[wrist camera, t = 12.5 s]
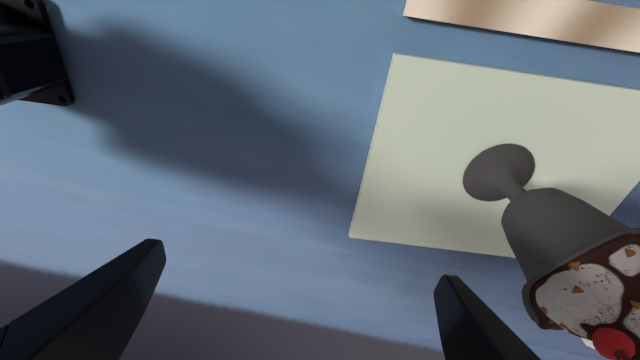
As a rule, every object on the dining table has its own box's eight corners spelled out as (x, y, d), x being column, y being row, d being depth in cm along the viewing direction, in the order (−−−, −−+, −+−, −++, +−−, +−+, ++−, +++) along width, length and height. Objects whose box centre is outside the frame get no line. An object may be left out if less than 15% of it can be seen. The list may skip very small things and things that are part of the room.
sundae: (431, 180, 22) (567, 433, 9) (510, 112, 19) (871, 346, 6) (485, 222, 24) (660, 477, 11) (565, 166, 21) (926, 428, 8)
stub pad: (348, 232, 26) (348, 237, 25) (393, 52, 18) (395, 54, 17) (563, 259, 27) (567, 264, 26) (698, 98, 19) (708, 101, 18)
